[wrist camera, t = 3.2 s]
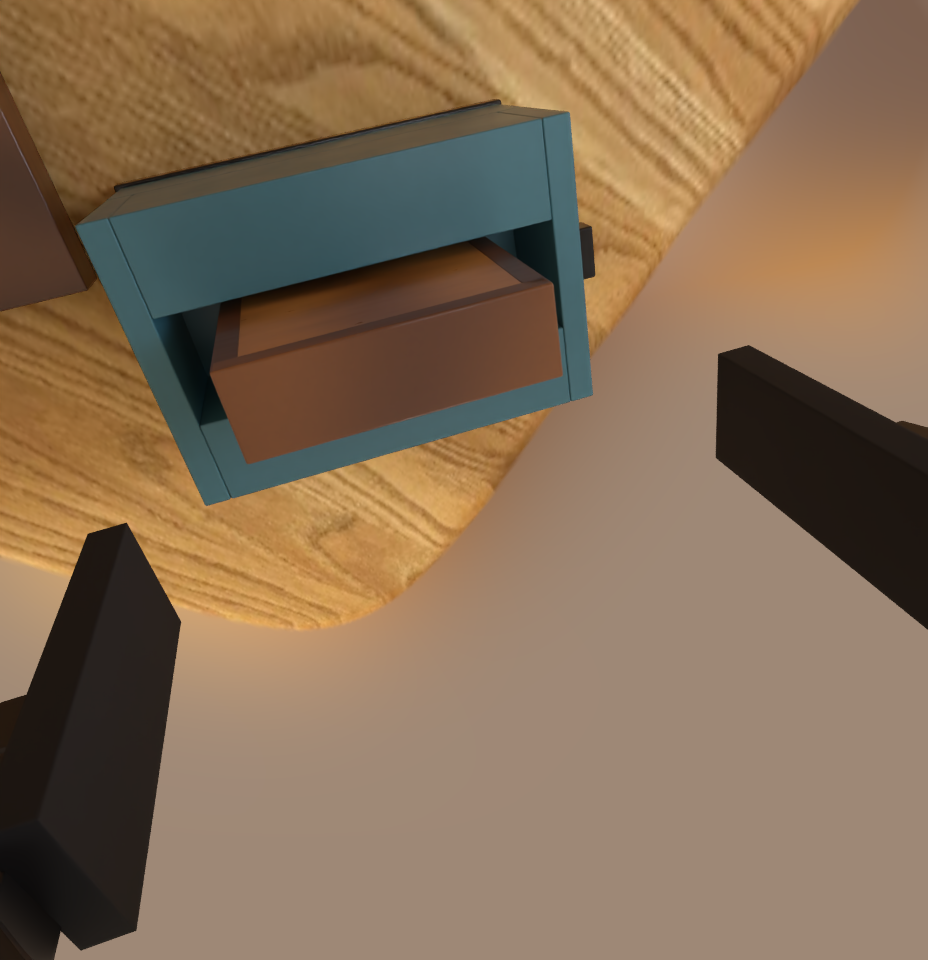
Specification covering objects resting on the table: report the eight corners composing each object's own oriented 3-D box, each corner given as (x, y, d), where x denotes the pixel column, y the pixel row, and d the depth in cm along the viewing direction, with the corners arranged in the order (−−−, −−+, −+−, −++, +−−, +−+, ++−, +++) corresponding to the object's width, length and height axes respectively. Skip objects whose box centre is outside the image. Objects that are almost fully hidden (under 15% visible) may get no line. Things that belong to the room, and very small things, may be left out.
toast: (249, 353, 29) (246, 466, 20) (223, 281, 27) (208, 373, 19) (477, 293, 30) (564, 376, 22) (466, 222, 28) (554, 282, 20)
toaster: (213, 415, 34) (201, 511, 26) (116, 183, 28) (64, 221, 20) (544, 326, 36) (620, 391, 28) (517, 93, 30) (603, 98, 23)
